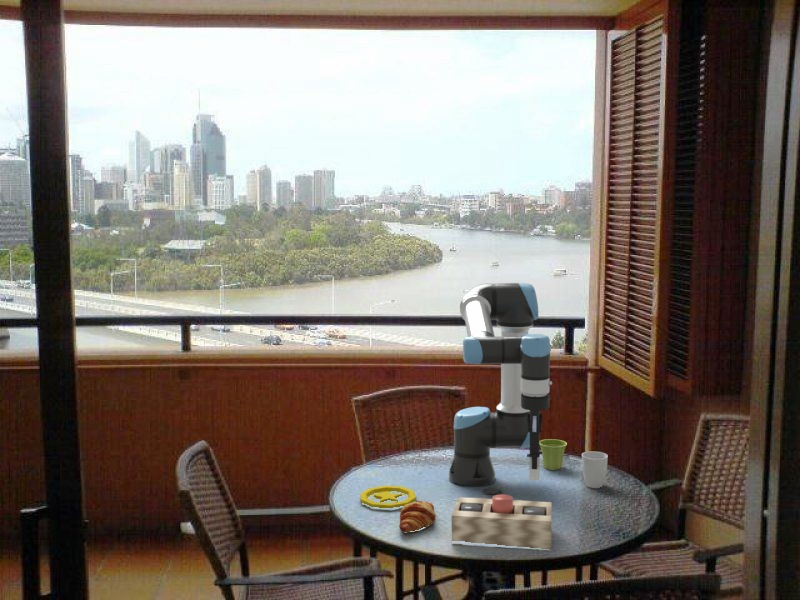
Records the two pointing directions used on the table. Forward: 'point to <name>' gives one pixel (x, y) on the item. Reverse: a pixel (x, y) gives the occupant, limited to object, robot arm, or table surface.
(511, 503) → the middle button
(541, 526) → the control box
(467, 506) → the left button
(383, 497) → the decorative disc
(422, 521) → the croissant
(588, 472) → the cup
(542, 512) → the right button
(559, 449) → the plant pot
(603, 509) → the table surface
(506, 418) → the robot arm
